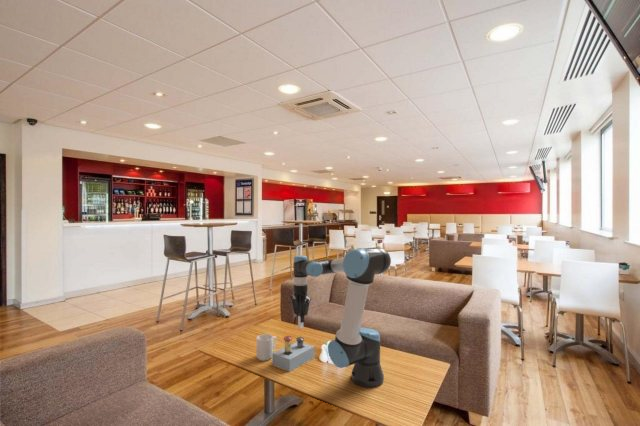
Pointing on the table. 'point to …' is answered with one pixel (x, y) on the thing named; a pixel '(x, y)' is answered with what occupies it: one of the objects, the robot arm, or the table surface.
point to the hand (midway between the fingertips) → (300, 327)
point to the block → (293, 357)
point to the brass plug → (287, 344)
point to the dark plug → (300, 342)
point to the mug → (265, 347)
